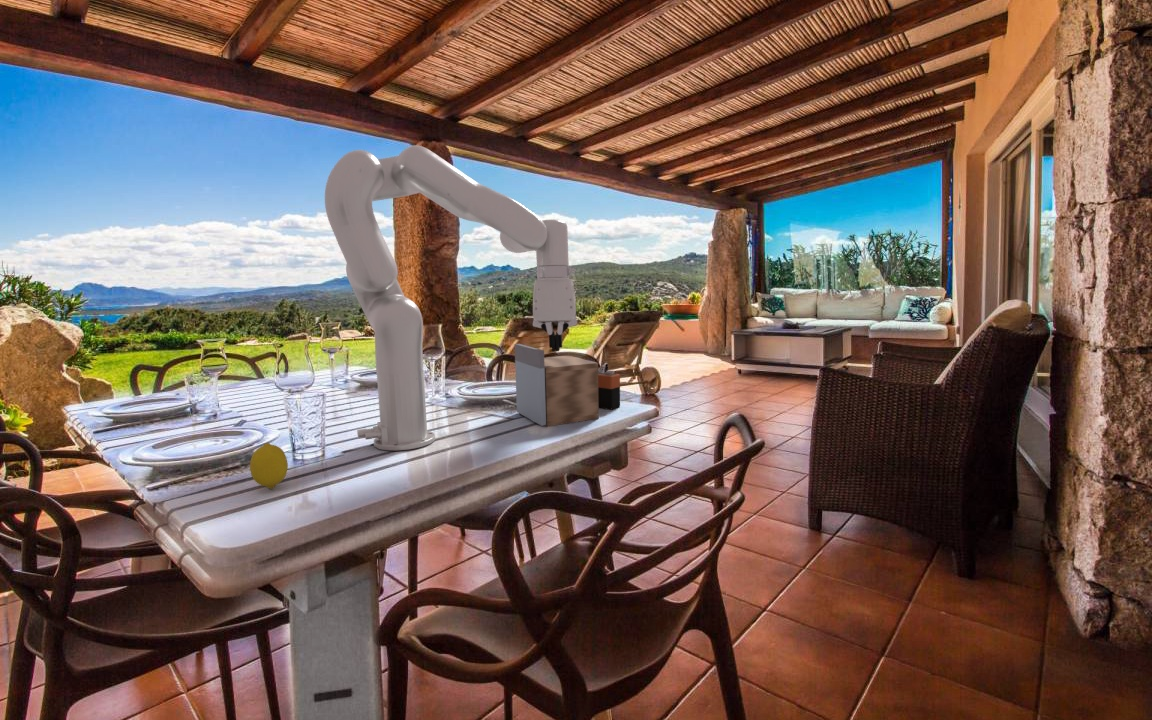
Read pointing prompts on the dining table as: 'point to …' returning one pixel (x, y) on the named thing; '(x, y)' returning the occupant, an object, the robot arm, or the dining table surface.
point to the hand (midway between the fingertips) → (555, 350)
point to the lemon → (268, 465)
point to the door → (530, 383)
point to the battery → (608, 390)
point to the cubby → (570, 390)
